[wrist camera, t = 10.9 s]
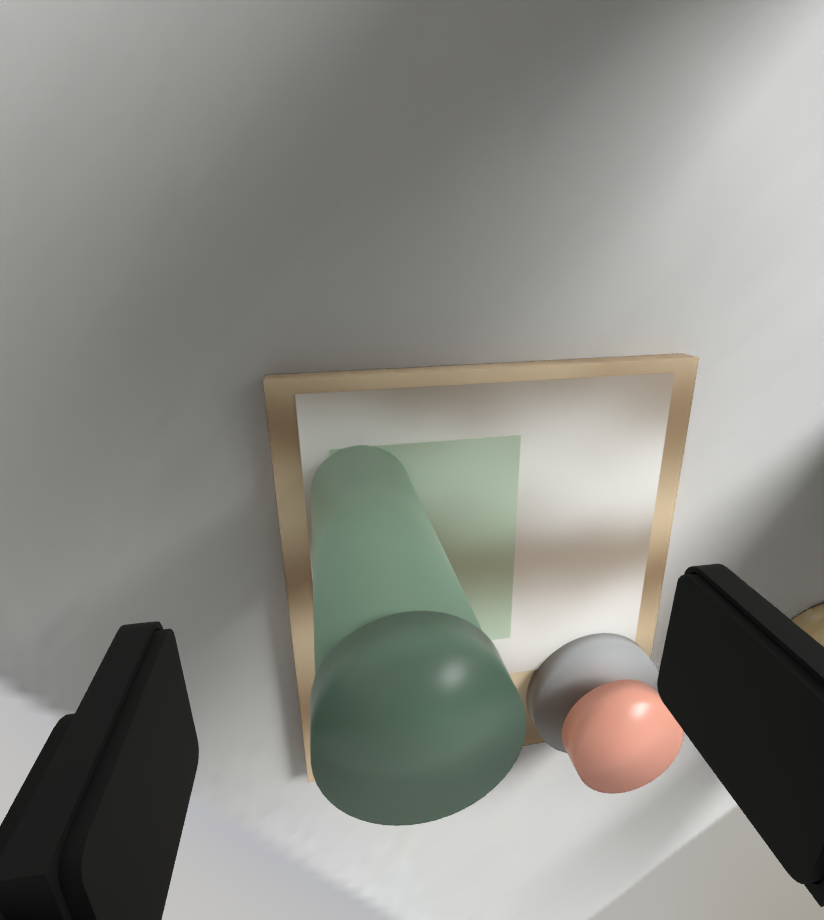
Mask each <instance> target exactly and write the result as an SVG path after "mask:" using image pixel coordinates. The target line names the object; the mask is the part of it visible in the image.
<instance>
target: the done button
mask: <svg viewBox="0 0 824 920" xmlns="http://www.w3.org/2000/svg"><path fill="white" fill-rule="evenodd" d="M682 741H683V729H682V728H681V727H680V725H679V724H678V722H677V721H676V720H675V718H674V717H673V716H672V714H671V713H670V711H669V710H668V709H667V707H666V706H665V705H664V703H663V702H662V700H661V698H660V696H659V694H658V692H657V691H656V690H655V689H654V688H653V687H651V686H650V685H649V684H647V683H644V682H642V681H638V680H632V679H624V680H616V681H612V682H609V683H605V684H603V685H601V686H598V687H597V688H595V689H593V690H591V691H590V692H588V693H587V694H585V695H584V696H583V697H582V698H581V699H580V700H579V701H578V702H577V703H576V704H575V705H574V706H573V707H572V709H571V710H570V712H569V713H568V715H567V717H566V719H565V721H564V724H563V728H562V742H563V745H564V748H565V750H566V752H567V753H568V755H569V757H570V759H571V761H572V763H573V765H574V767H575V769H576V770H577V772H578V774H579V776H580V778H581V780H582V781H583V782H584V783H585V784H586V785H587V786H588V787H590V788H591V789H593V790H596V791H599V792H603V793H623V792H627V791H631V790H634V789H637V788H640V787H642V786H644V785H646V784H648V783H650V782H651V781H653V780H654V779H656V778H657V777H658V776H660V775H661V774H662V773H663V772H664V771H665V770H666V769H667V768H668V767H669V766H670V765H671V764H672V762H673V761H674V759H675V758H676V756H677V755H678V753H679V750H680V748H681V745H682Z"/></svg>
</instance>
